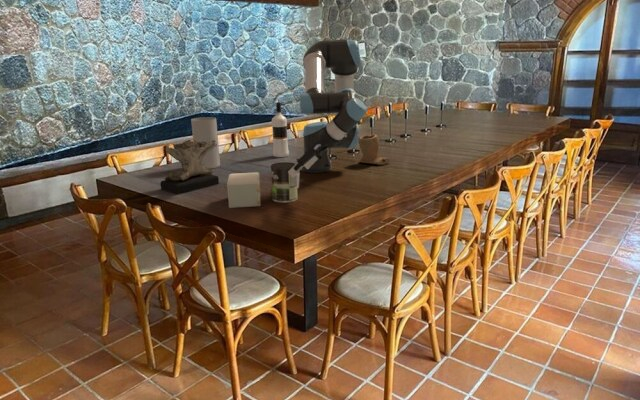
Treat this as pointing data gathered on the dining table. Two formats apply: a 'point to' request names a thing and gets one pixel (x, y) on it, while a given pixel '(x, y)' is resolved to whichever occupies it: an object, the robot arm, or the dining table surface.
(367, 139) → the stone cup
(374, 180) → the dining table surface
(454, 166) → the dining table surface
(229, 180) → the cabinet
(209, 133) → the cylinder vase
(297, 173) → the shot glass
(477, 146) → the dining table surface
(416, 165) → the dining table surface
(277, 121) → the vodka
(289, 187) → the coffee can
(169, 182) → the coral
